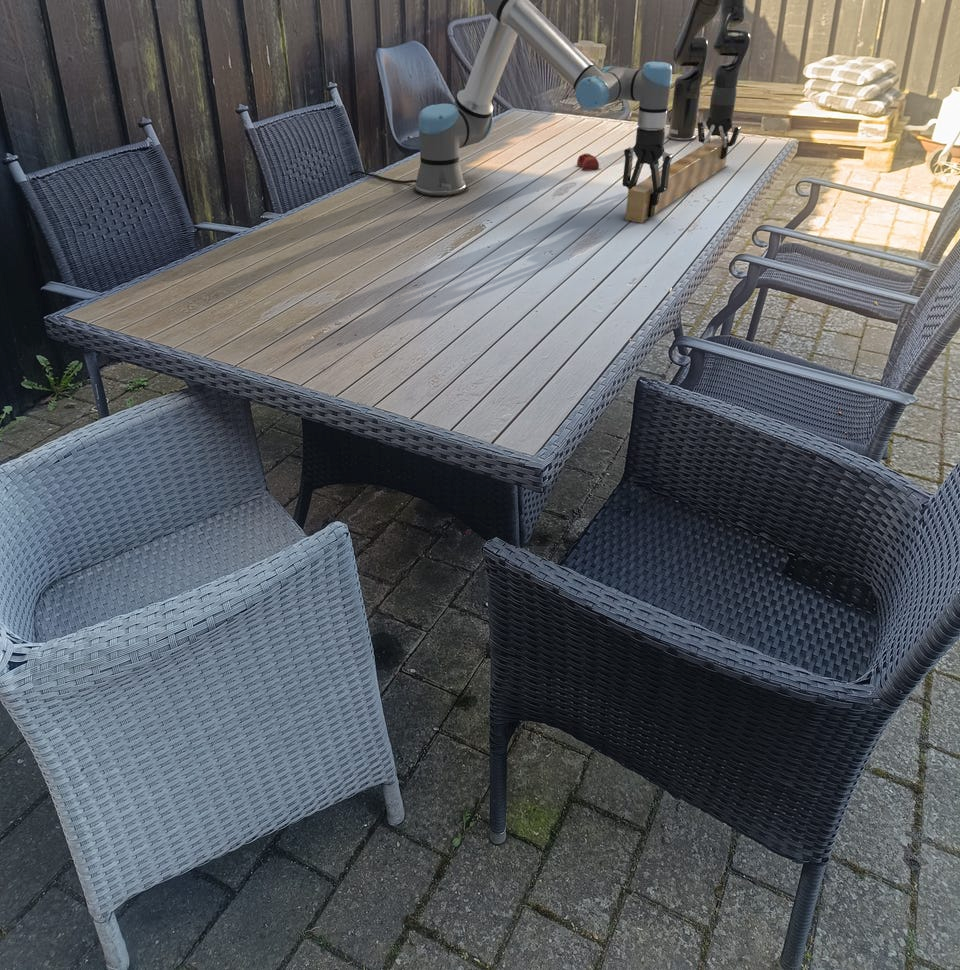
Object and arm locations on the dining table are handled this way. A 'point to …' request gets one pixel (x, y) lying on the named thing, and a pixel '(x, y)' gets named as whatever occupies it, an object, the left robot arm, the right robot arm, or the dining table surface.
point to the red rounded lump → (588, 161)
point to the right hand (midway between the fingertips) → (714, 157)
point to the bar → (676, 180)
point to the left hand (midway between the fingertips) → (641, 214)
